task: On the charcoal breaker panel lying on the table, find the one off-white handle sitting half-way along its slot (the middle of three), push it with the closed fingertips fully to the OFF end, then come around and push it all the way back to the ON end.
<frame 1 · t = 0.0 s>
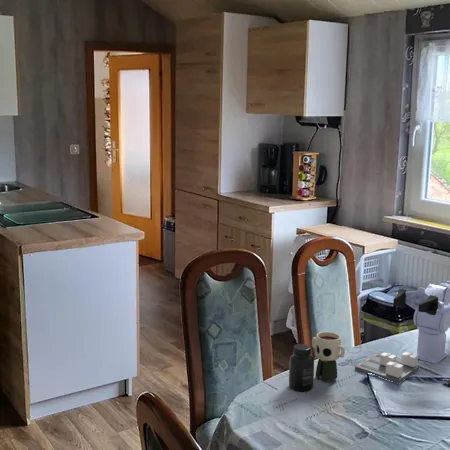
hand: (406, 305, 176), 22 cm above the table, tool horizontal, fingers open, 7 cm apart
breaker 2: (409, 359, 185), point 3 cm above the table, slide at 8.5 cm
breaker 1: (394, 369, 177), point 3 cm above the table, slide at 8.5 cm
panel: (387, 369, 185), on the table
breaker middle: (388, 359, 184), point 3 cm above the table, slide at 4.0 cm
supplement bottle: (300, 388, 172), on the table
character mug: (326, 379, 178), on the table
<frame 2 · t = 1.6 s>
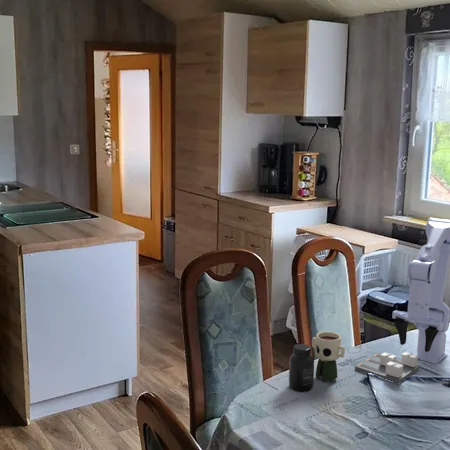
hand: (415, 347, 178), 9 cm above the table, tool pointing down, fingers open, 7 cm apart
nothing on the table moved.
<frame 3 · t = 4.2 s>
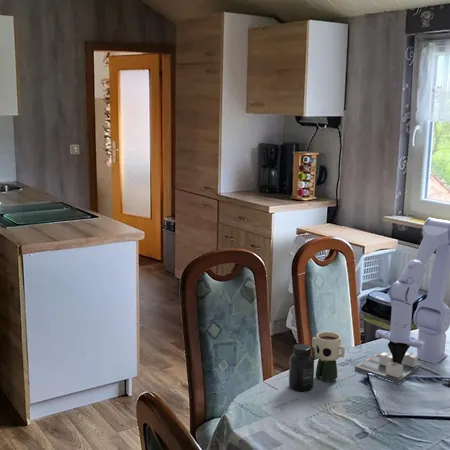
hand: (397, 365, 182), 2 cm above the table, tool pointing down, fingers closed
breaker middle: (387, 359, 184), point 3 cm above the table, slide at 3.8 cm, touching gripper
everything else where it was.
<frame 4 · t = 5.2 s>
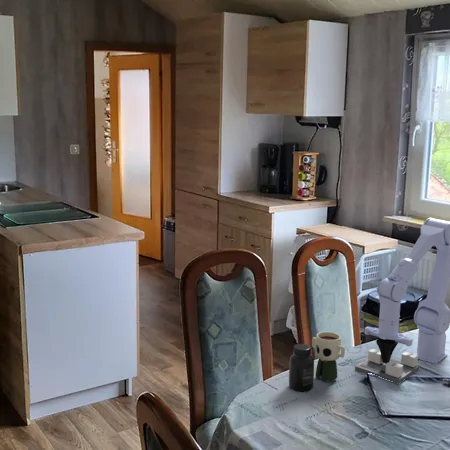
hand: (385, 362, 185), 2 cm above the table, tool pointing down, fingers closed
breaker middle: (376, 356, 186), point 3 cm above the table, slide at 0.1 cm, touching gripper
everything else where it was.
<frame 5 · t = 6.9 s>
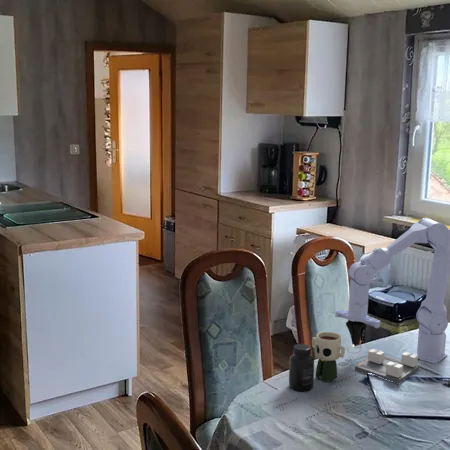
hand: (355, 343, 191), 5 cm above the table, tool pointing down, fingers closed
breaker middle: (376, 356, 186), point 3 cm above the table, slide at 0.1 cm
everything else where it was.
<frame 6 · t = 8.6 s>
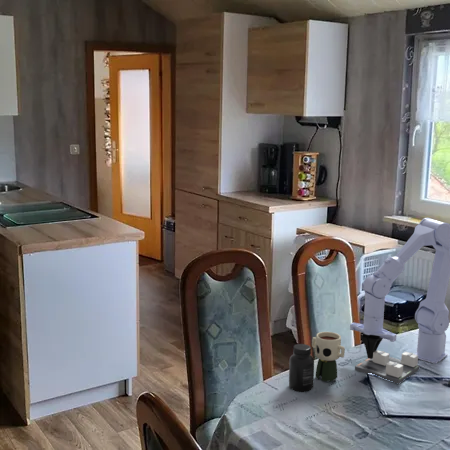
hand: (370, 357, 188), 2 cm above the table, tool pointing down, fingers closed
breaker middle: (381, 357, 185), point 3 cm above the table, slide at 1.7 cm, touching gripper
everything else where it was.
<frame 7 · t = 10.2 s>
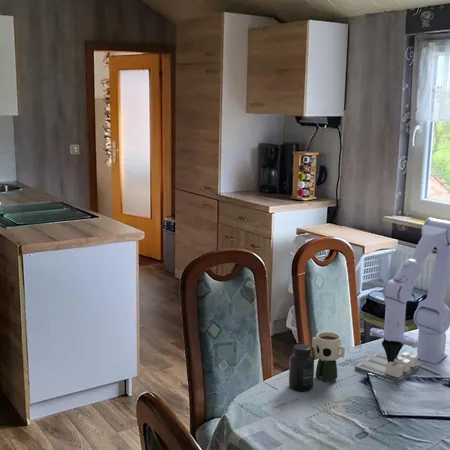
hand: (391, 364, 183), 2 cm above the table, tool pointing down, fingers closed
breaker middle: (402, 364, 181), point 3 cm above the table, slide at 8.5 cm, touching gripper
everything else where it was.
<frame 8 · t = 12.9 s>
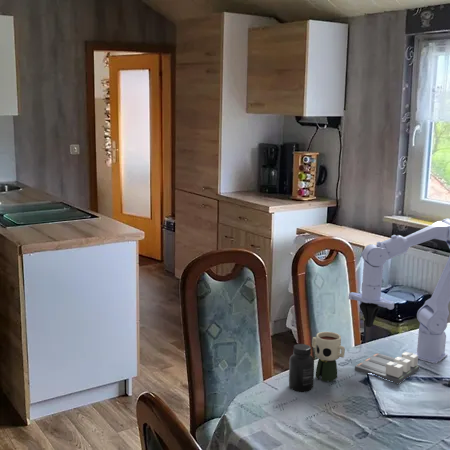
hand: (369, 326, 191), 10 cm above the table, tool pointing down, fingers closed
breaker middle: (402, 364, 181), point 3 cm above the table, slide at 8.5 cm
everything else where it was.
at the end: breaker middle slide at 8.5 cm; breaker 2 slide at 8.5 cm; breaker 1 slide at 8.5 cm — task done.
